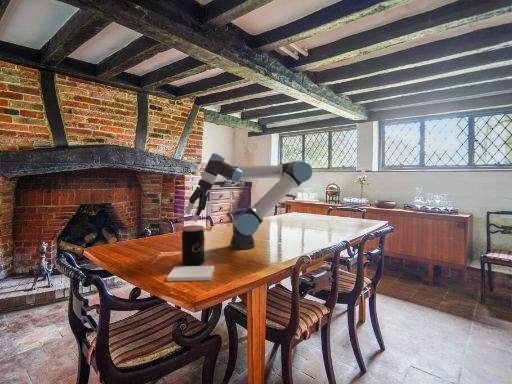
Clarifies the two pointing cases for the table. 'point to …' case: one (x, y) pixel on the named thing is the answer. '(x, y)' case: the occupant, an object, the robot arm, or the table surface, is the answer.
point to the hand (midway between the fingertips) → (190, 217)
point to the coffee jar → (193, 245)
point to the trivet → (191, 273)
